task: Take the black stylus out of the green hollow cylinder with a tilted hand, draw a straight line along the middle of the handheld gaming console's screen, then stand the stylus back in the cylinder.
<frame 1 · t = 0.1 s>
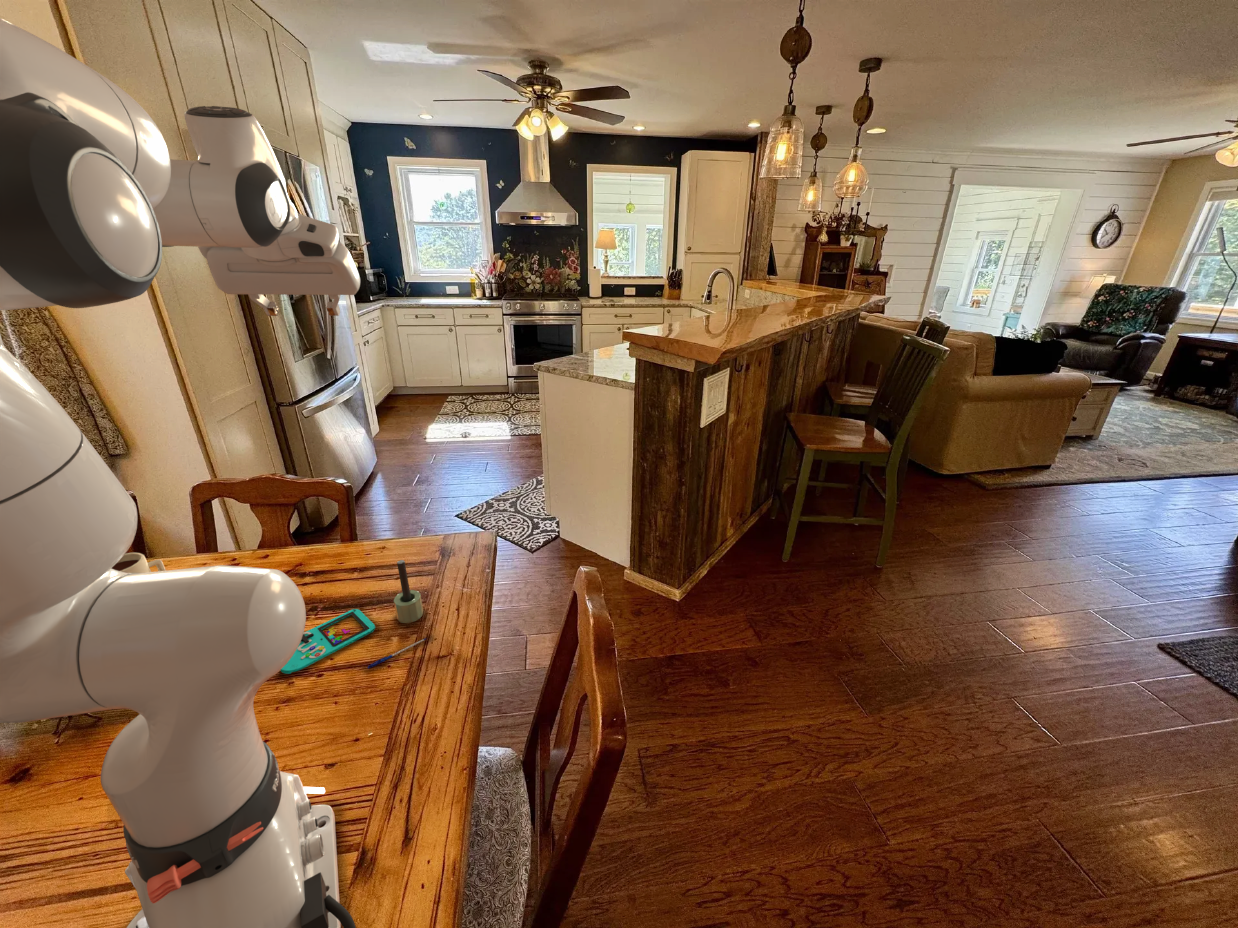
hand: (304, 313, 84), 54 cm above the table, tool tilted 30°, fingers open, 8 cm apart
green hollow cylinder: (410, 616, 94), on the table
ballpoint pen: (399, 655, 86), on the table
character mug: (144, 623, 91), on the table
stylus: (410, 614, 94), resting on green hollow cylinder
handheld gaming console: (325, 642, 88), on the table
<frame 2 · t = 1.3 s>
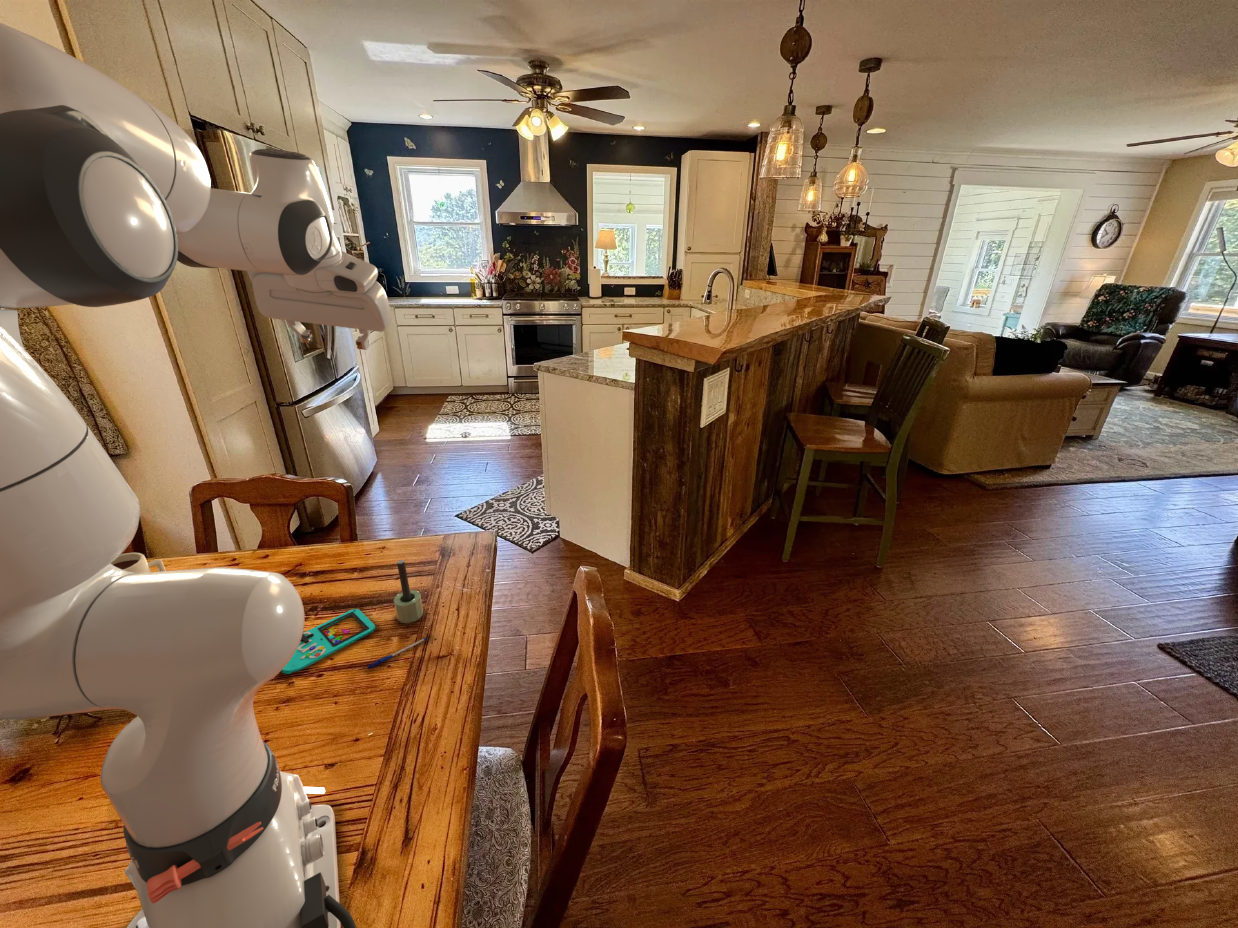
hand: (335, 344, 87), 49 cm above the table, tool tilted 20°, fingers open, 8 cm apart
nothing on the table moved.
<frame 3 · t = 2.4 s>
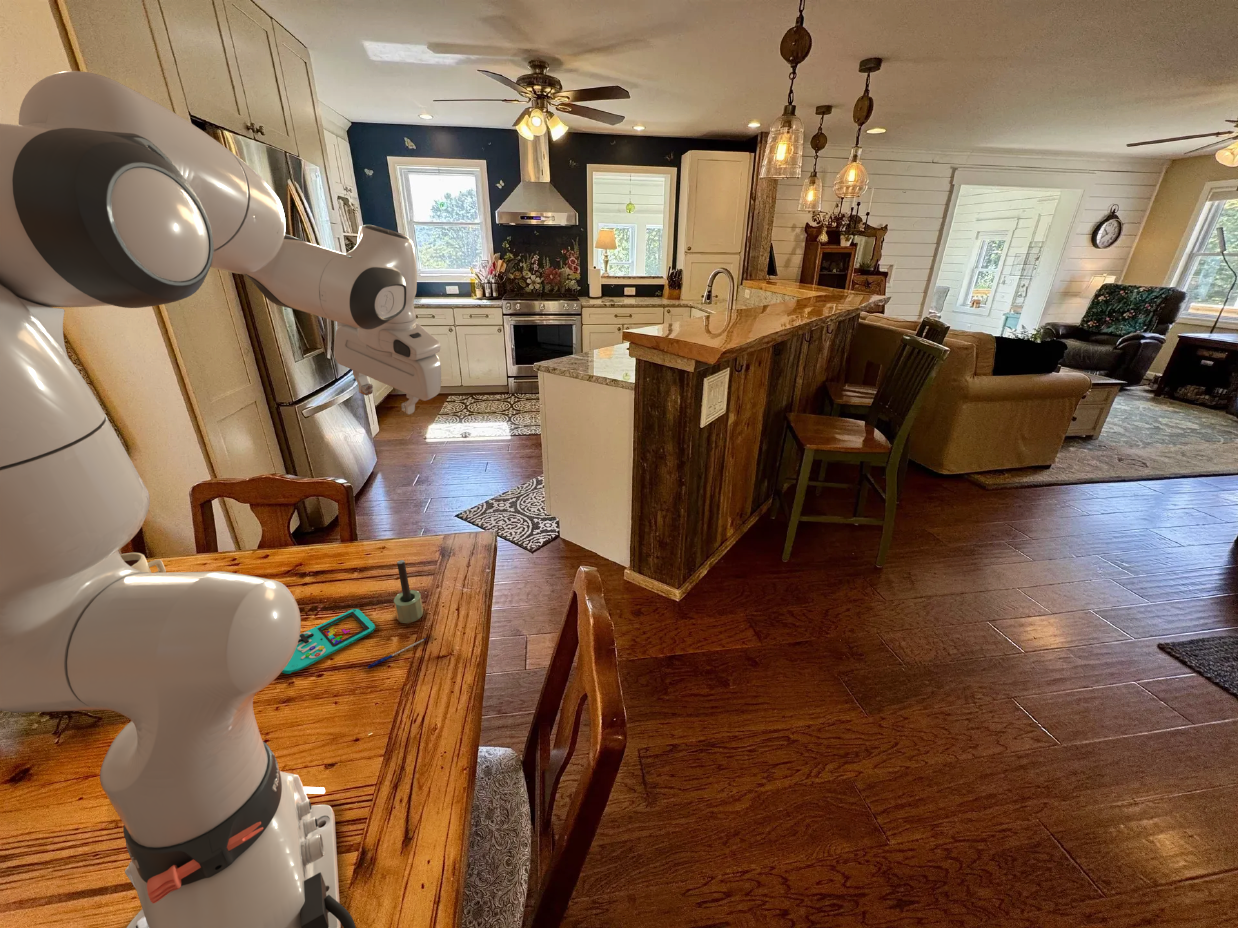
hand: (386, 402, 90), 39 cm above the table, tool tilted 15°, fingers open, 8 cm apart
nothing on the table moved.
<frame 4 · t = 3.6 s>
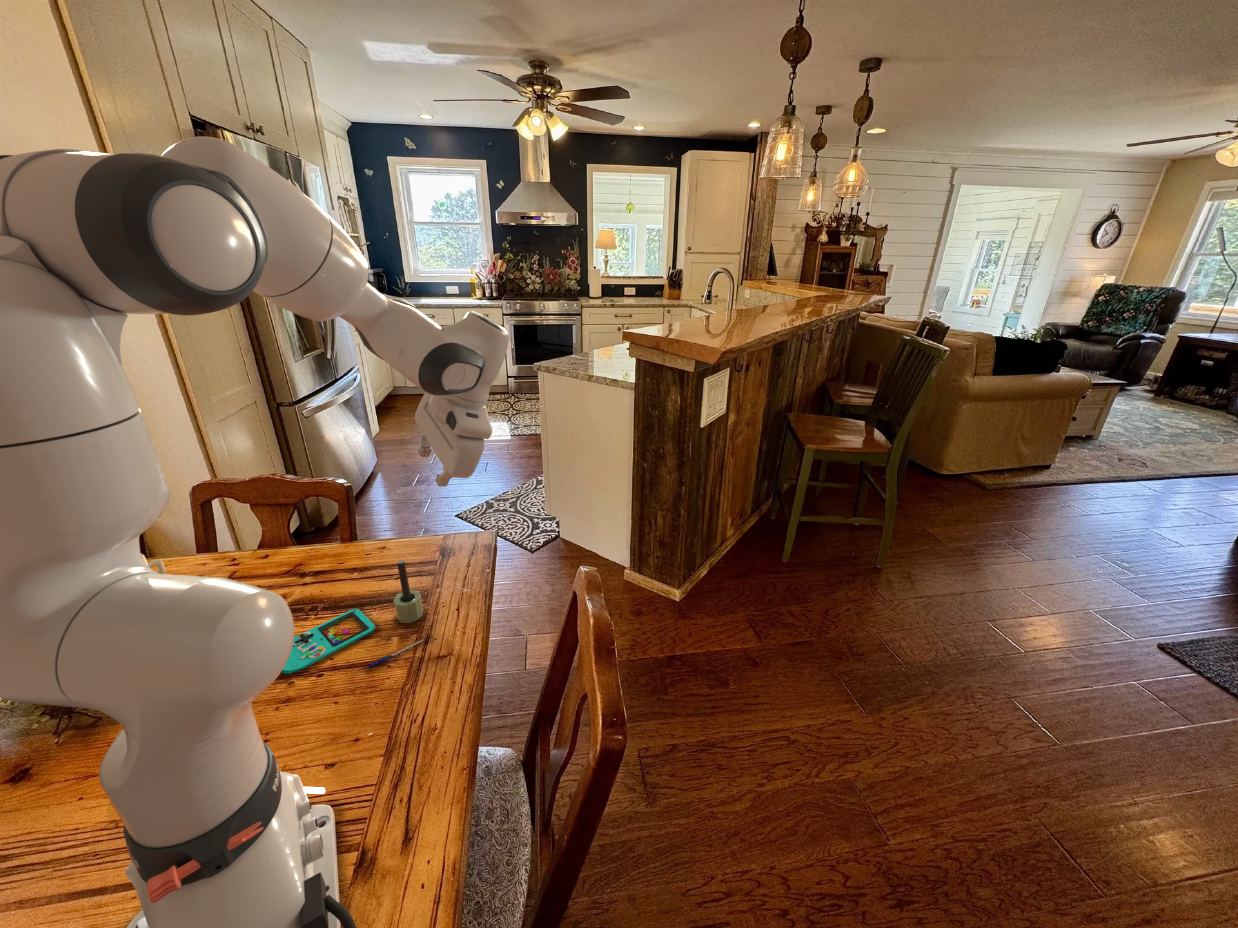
hand: (431, 469, 90), 28 cm above the table, tool tilted 25°, fingers open, 8 cm apart
nothing on the table moved.
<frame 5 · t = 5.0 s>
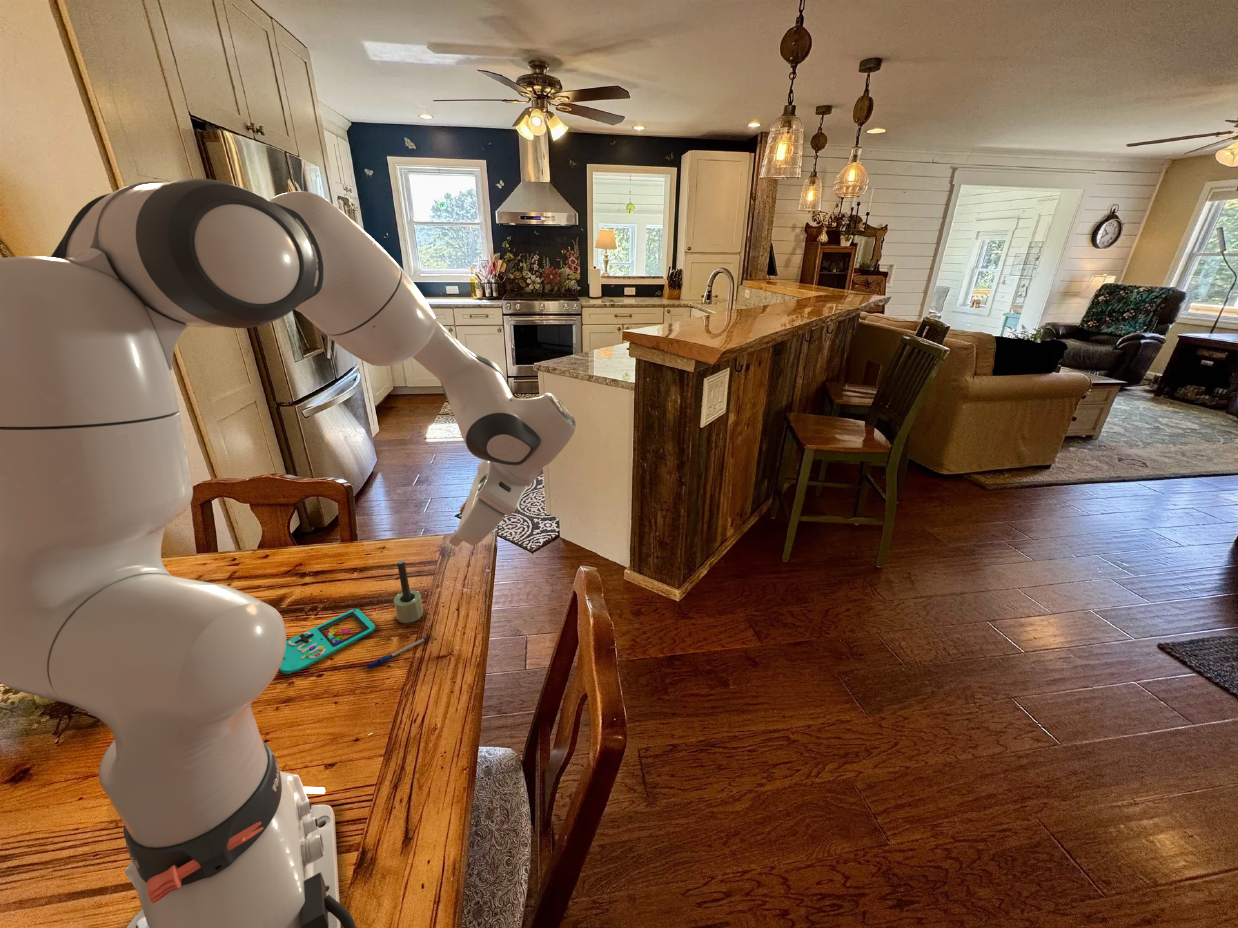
hand: (458, 526, 88), 19 cm above the table, tool tilted 40°, fingers open, 8 cm apart
nothing on the table moved.
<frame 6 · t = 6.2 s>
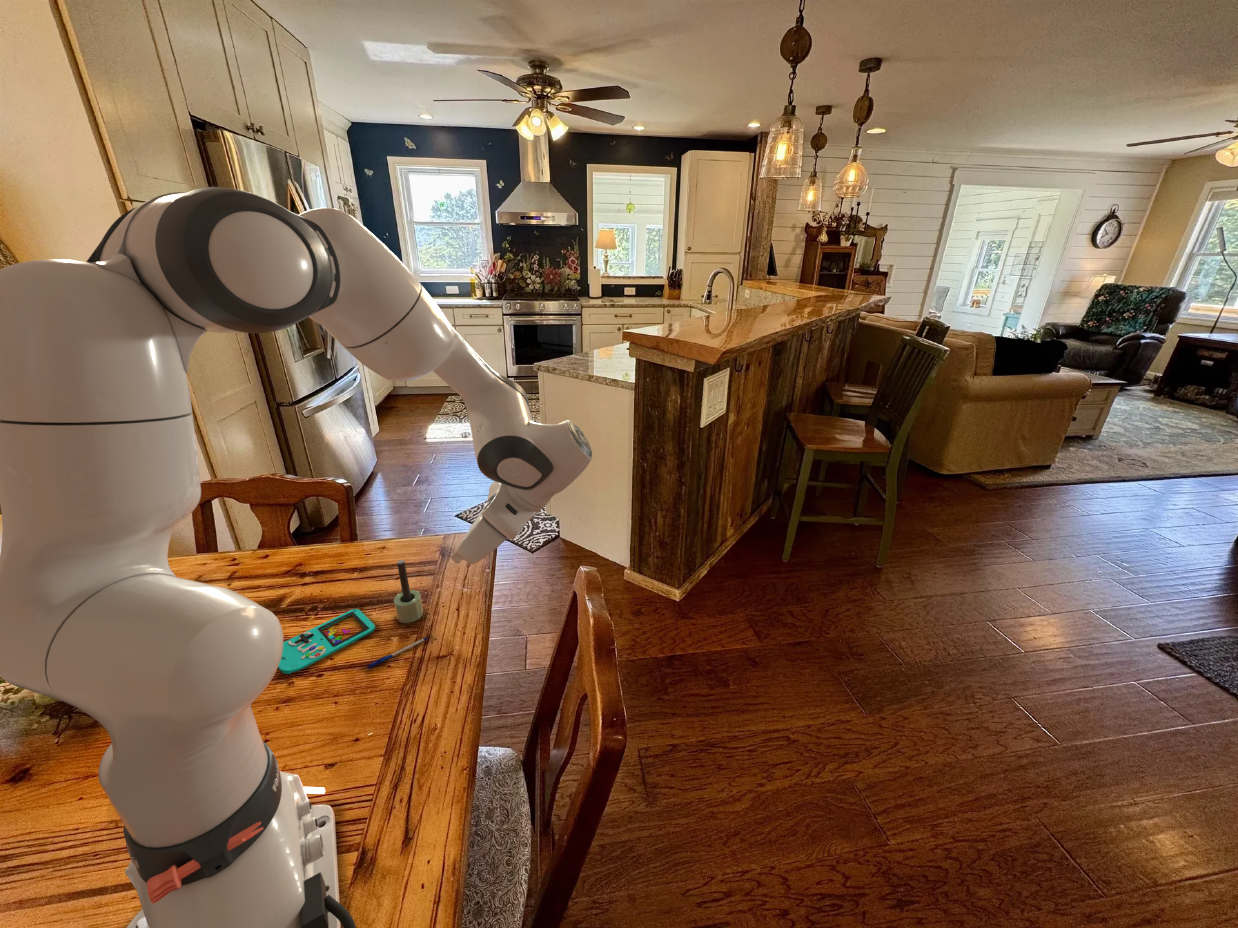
hand: (464, 543, 87), 17 cm above the table, tool tilted 45°, fingers open, 8 cm apart
nothing on the table moved.
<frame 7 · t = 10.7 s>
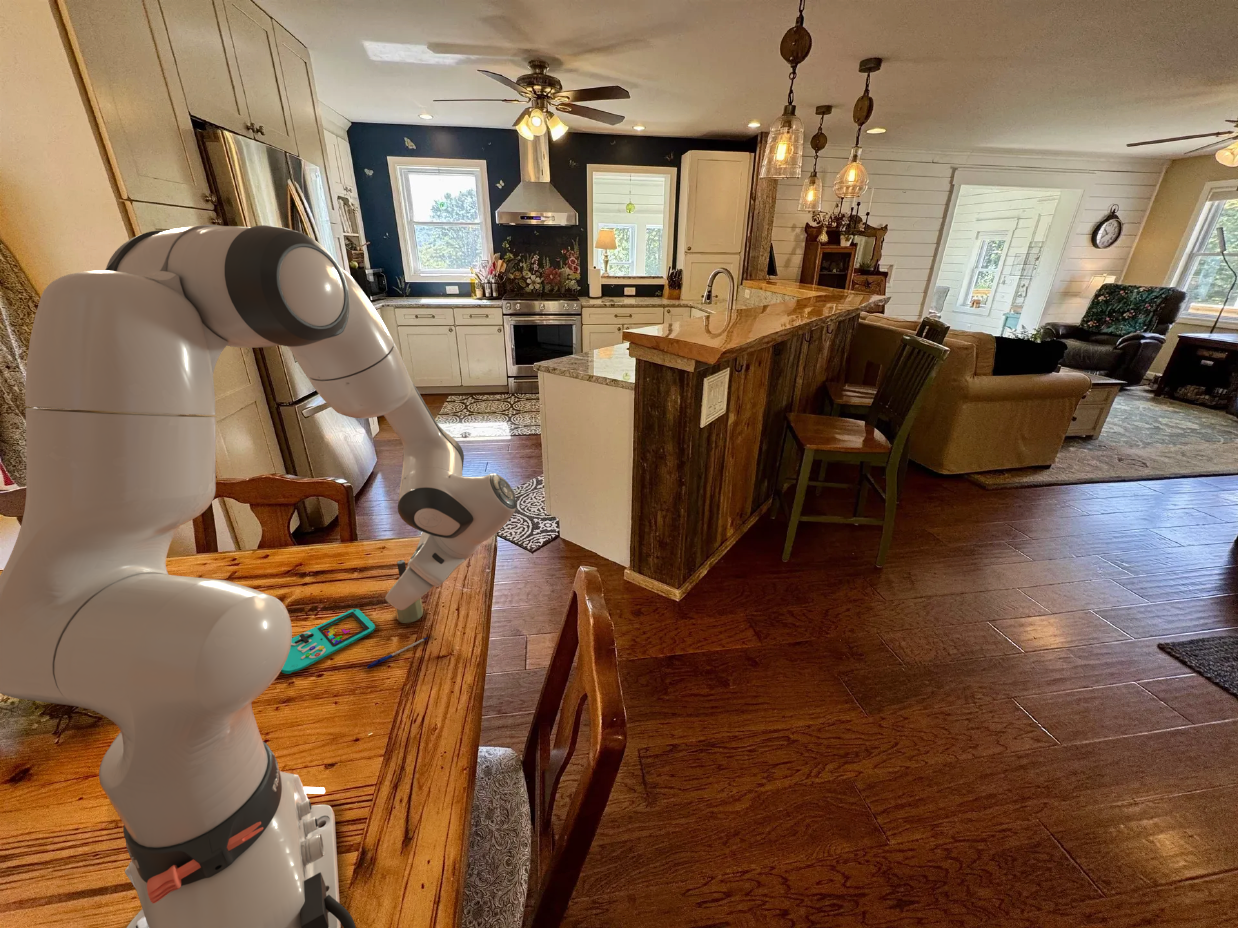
hand: (401, 585, 91), 7 cm above the table, tool tilted 45°, fingers closed on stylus, 1 cm apart
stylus: (410, 614, 94), point 1 cm above the table, touching gripper
everything else where it was.
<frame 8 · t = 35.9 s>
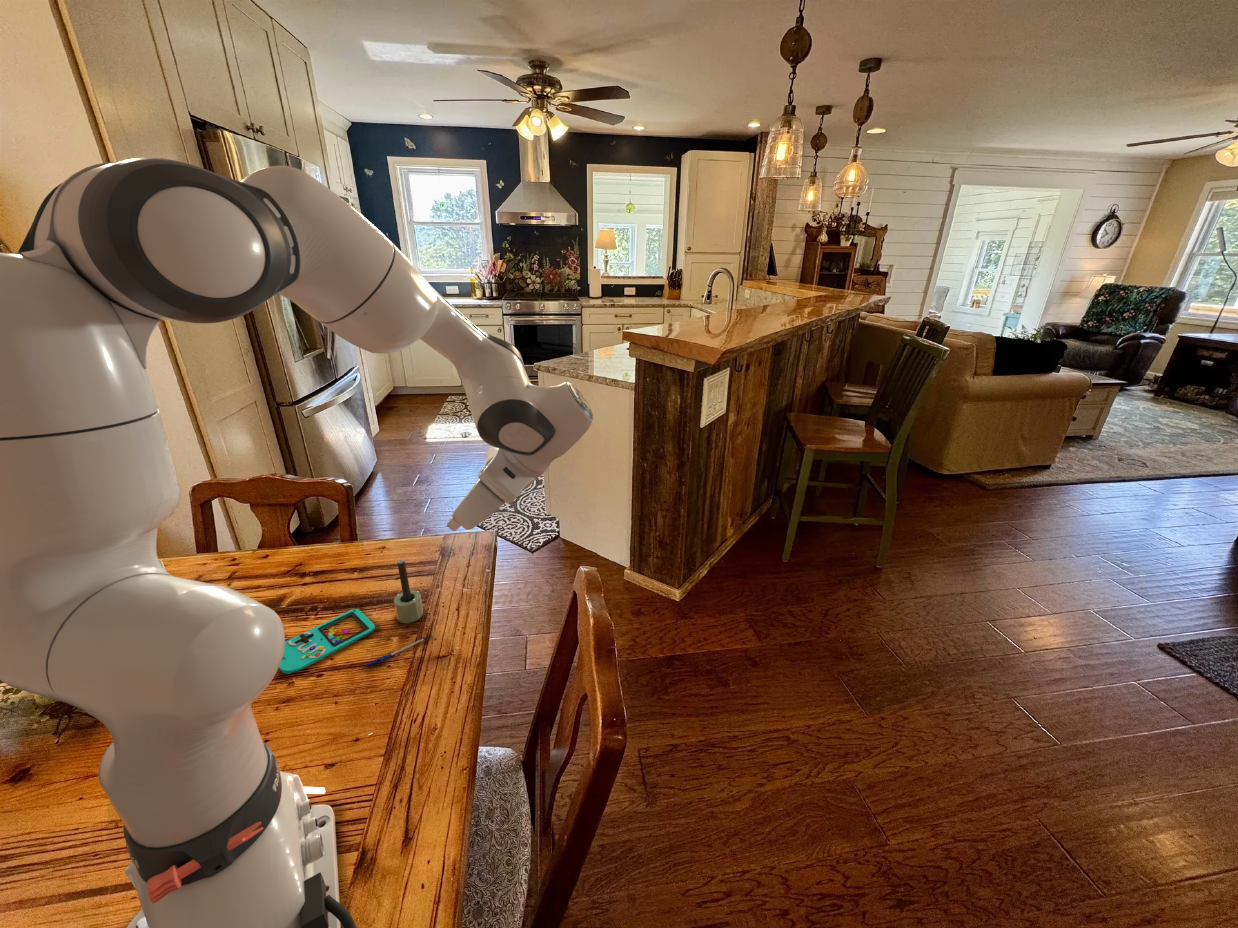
hand: (461, 512, 85), 23 cm above the table, tool tilted 45°, fingers open, 8 cm apart
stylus: (410, 614, 94), resting on green hollow cylinder
everything else where it was.
at the end: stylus 0.1 cm off-centre in the green hollow cylinder, point 0.5 cm above the green hollow cylinder's base; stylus tilted 0°; handheld gaming console moved 0.0 cm from its start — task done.
